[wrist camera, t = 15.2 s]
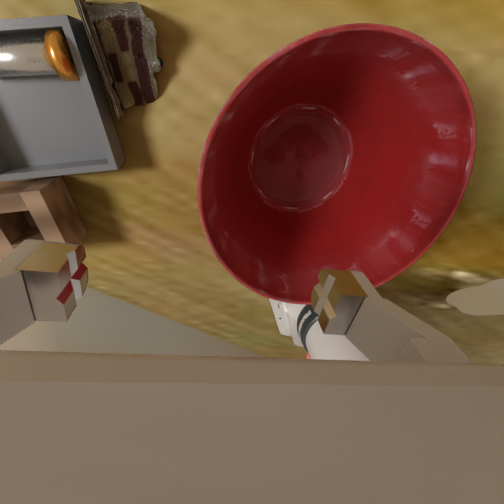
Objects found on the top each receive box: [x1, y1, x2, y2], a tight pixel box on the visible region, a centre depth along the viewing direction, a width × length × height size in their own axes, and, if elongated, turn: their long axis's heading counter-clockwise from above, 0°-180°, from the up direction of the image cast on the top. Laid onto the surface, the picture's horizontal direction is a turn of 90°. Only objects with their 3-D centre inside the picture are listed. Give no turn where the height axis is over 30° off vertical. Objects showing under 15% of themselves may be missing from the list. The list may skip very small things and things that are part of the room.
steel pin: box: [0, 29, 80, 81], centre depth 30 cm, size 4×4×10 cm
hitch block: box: [0, 175, 87, 260], centre depth 38 cm, size 9×9×6 cm
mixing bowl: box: [197, 23, 477, 305], centre depth 35 cm, size 28×28×16 cm
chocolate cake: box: [74, 0, 163, 120], centre depth 31 cm, size 10×7×12 cm
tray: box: [0, 15, 126, 182], centre depth 33 cm, size 15×15×4 cm
